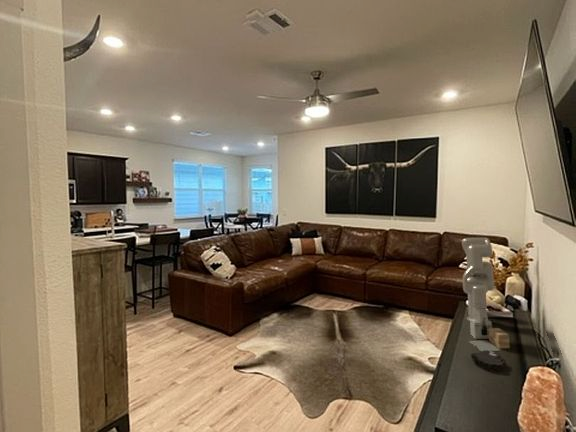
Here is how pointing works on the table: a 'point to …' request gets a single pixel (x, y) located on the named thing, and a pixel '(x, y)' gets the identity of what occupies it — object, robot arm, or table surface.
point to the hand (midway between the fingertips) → (481, 332)
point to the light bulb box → (479, 329)
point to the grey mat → (484, 345)
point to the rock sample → (489, 361)
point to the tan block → (499, 338)
